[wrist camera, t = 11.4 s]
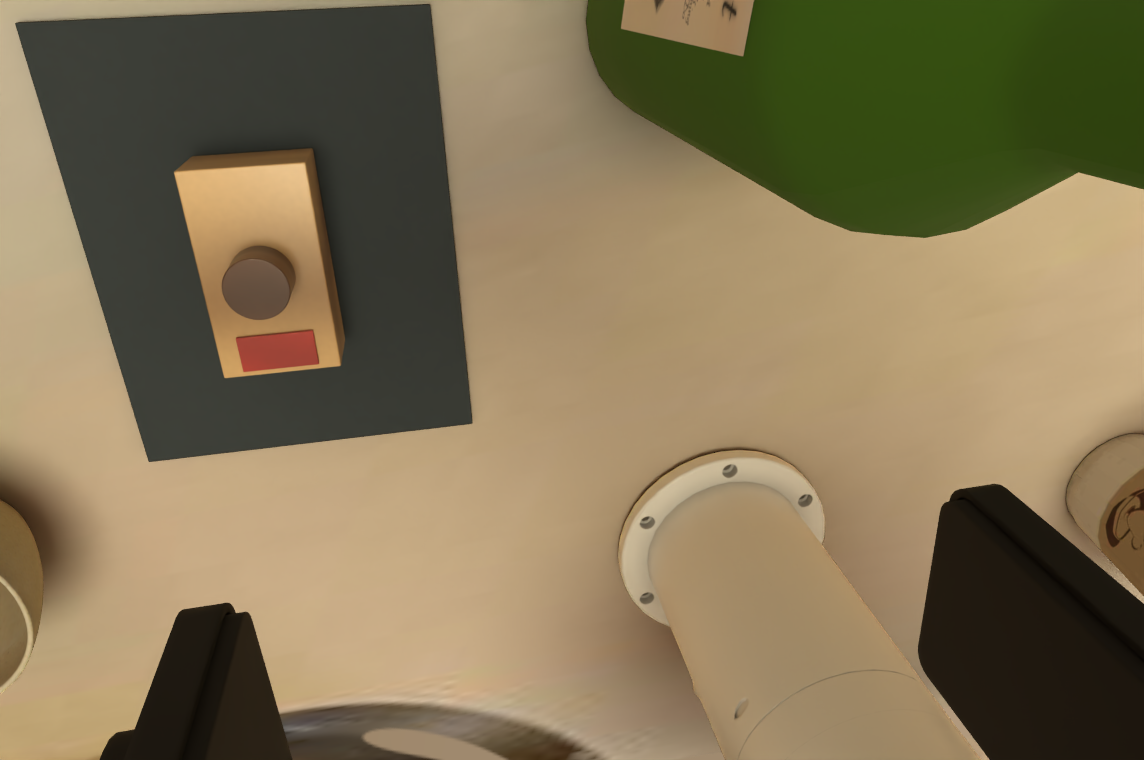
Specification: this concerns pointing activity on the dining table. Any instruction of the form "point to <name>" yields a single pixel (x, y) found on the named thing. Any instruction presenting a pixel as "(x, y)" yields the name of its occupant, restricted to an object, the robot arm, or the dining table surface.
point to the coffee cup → (1113, 503)
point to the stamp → (263, 260)
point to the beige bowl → (17, 594)
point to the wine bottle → (888, 98)
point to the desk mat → (255, 124)
